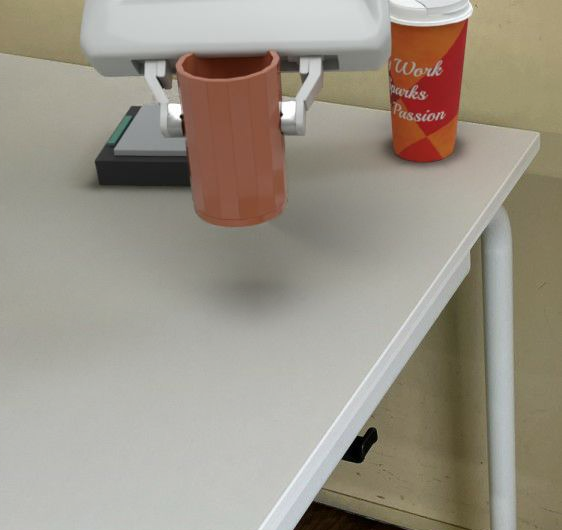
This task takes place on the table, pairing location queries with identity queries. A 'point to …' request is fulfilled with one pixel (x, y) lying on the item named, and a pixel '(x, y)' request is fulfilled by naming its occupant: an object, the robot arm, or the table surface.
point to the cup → (234, 137)
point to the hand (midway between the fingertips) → (233, 134)
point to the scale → (142, 152)
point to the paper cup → (426, 75)
